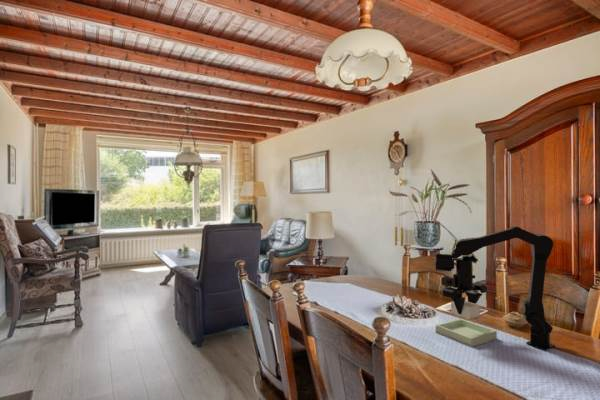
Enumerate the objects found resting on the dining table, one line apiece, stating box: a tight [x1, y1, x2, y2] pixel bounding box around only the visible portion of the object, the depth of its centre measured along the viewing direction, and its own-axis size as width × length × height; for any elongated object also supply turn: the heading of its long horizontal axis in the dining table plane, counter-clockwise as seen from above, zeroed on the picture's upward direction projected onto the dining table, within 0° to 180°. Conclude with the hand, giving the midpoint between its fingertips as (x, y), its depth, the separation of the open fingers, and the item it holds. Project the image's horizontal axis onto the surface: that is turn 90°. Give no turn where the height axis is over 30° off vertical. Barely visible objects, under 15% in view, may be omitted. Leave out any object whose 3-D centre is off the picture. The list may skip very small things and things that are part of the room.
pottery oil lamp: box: [501, 311, 529, 329], centre depth 144 cm, size 9×12×7 cm
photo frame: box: [434, 301, 489, 320], centre depth 163 cm, size 15×1×18 cm
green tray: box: [435, 318, 498, 348], centre depth 133 cm, size 15×16×3 cm
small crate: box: [450, 300, 481, 320], centre depth 133 cm, size 6×8×4 cm
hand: (465, 312), depth 133 cm, fingers closed on small crate, 6 cm apart
